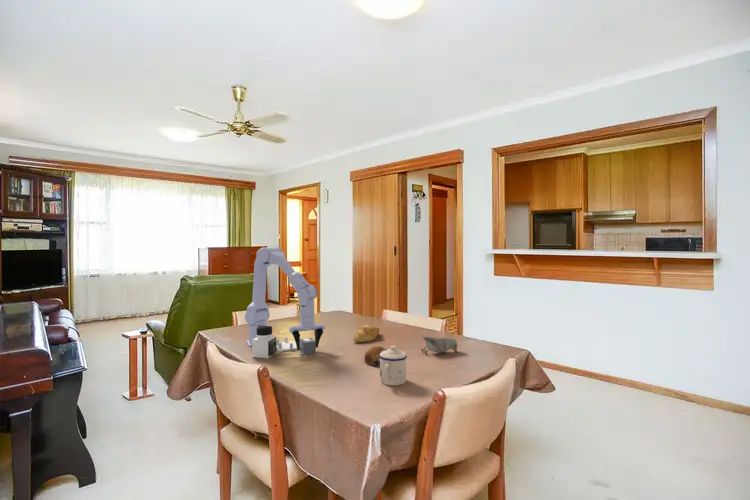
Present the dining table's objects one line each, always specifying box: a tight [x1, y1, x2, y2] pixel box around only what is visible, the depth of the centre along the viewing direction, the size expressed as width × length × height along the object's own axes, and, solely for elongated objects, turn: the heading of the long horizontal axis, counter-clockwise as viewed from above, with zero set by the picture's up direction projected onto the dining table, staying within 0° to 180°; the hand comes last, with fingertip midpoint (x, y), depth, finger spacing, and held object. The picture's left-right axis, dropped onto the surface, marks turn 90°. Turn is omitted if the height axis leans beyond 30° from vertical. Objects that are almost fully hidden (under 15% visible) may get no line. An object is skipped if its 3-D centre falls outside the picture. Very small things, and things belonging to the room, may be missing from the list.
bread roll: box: [364, 345, 388, 367], centre depth 150 cm, size 10×10×8 cm
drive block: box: [298, 337, 317, 356], centre depth 163 cm, size 7×5×5 cm
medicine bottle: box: [251, 324, 277, 359], centre depth 158 cm, size 7×7×12 cm
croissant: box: [352, 323, 380, 343], centre depth 185 cm, size 21×10×8 cm, turn 151°
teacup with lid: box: [379, 345, 408, 387], centre depth 129 cm, size 12×9×12 cm
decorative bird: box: [421, 336, 458, 355], centre depth 162 cm, size 5×16×8 cm, turn 109°
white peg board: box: [276, 337, 299, 353], centre depth 170 cm, size 12×11×3 cm
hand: (307, 347), depth 163 cm, fingers open, 7 cm apart
